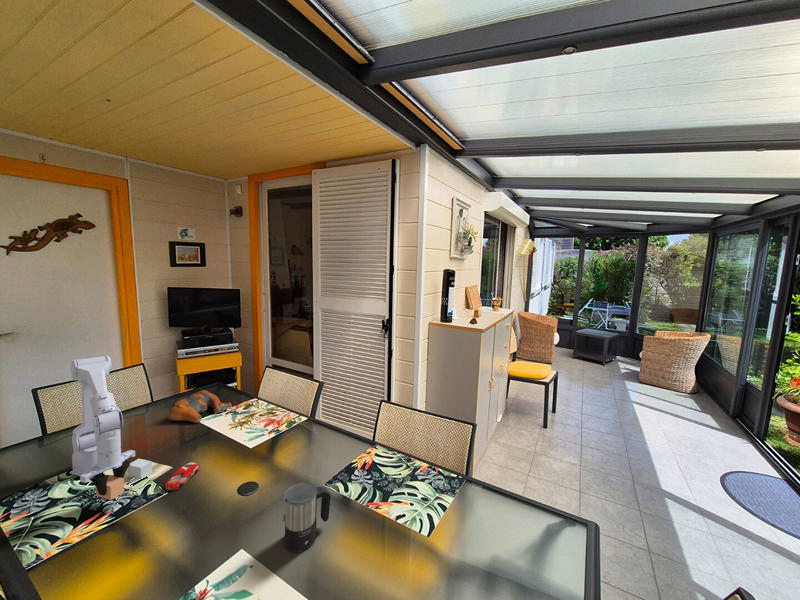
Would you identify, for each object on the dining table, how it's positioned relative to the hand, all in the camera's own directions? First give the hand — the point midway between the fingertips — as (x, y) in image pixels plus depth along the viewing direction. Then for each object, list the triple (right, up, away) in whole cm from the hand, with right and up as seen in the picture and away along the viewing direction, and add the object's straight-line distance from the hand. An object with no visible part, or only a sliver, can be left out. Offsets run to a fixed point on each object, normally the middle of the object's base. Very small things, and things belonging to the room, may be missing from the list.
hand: (110, 489), depth 104 cm
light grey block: (-3, -4, +15) cm, 16 cm away
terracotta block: (0, -1, 0) cm, 2 cm away
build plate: (-3, -4, +15) cm, 16 cm away
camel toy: (-9, +1, +63) cm, 64 cm away
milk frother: (+61, -10, -4) cm, 62 cm away
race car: (+13, -5, +15) cm, 20 cm away
